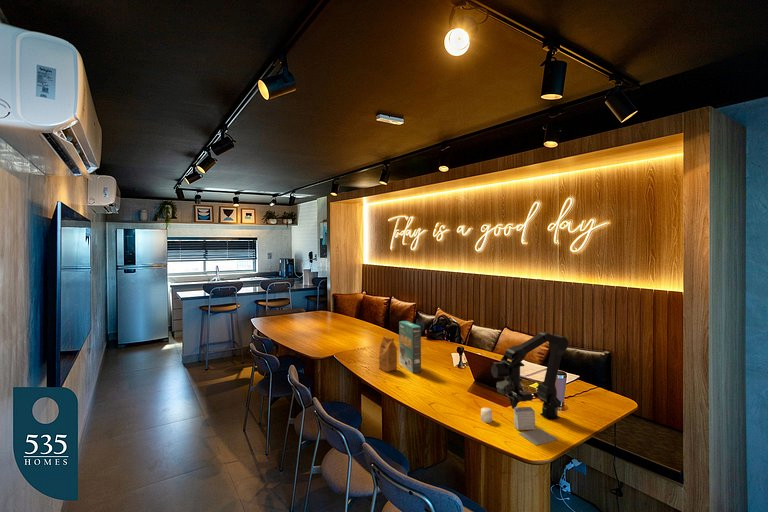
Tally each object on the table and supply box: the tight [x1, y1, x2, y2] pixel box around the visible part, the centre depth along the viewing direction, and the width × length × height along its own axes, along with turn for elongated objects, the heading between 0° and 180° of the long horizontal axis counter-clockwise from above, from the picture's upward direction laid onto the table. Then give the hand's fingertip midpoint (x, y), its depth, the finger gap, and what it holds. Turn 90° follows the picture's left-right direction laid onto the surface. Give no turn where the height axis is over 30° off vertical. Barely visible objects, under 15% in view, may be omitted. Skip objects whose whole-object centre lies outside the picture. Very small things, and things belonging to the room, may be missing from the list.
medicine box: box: [513, 406, 536, 431], centre depth 165 cm, size 8×4×9 cm, turn 92°
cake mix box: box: [398, 320, 422, 374], centre depth 250 cm, size 22×6×30 cm, turn 22°
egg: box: [480, 407, 493, 424], centre depth 173 cm, size 5×5×5 cm
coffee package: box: [378, 335, 398, 373], centre depth 247 cm, size 10×12×22 cm
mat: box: [518, 428, 559, 446], centre depth 157 cm, size 12×10×1 cm
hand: (513, 408), depth 172 cm, fingers closed
